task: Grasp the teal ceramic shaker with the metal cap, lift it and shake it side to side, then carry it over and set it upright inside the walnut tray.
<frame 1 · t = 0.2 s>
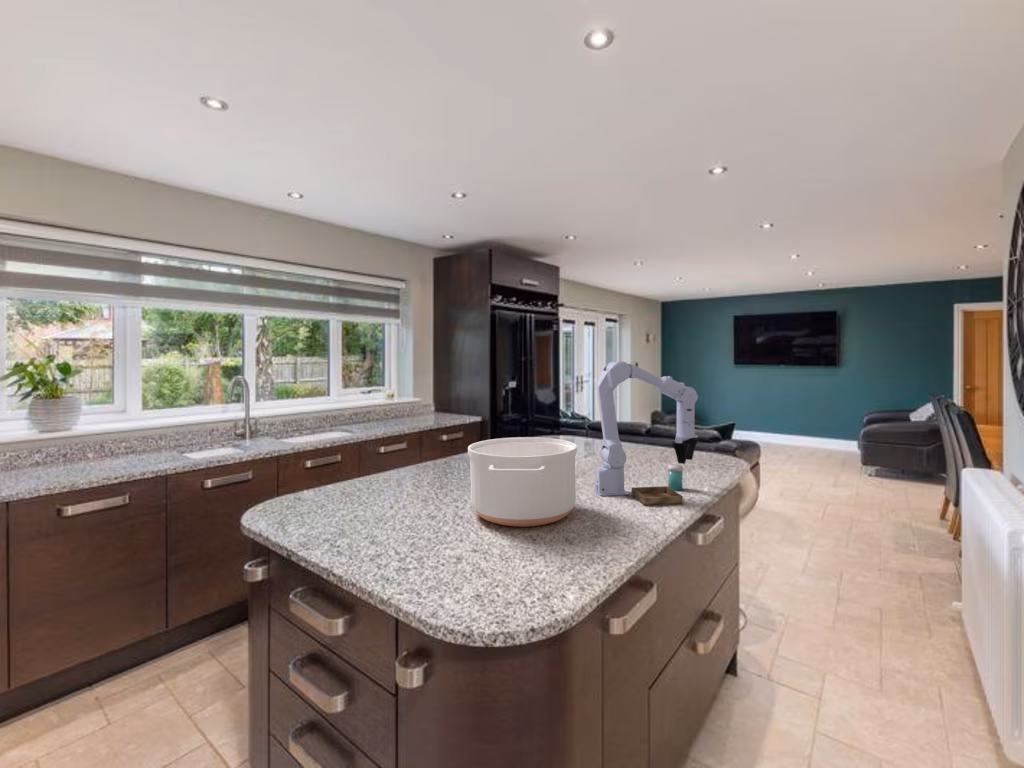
hand: (685, 461, 166), 10 cm above the countertop, tool pointing down, fingers open, 7 cm apart
shaker: (675, 489, 167), on the countertop
pot: (523, 514, 144), on the countertop
tray: (656, 499, 155), on the countertop
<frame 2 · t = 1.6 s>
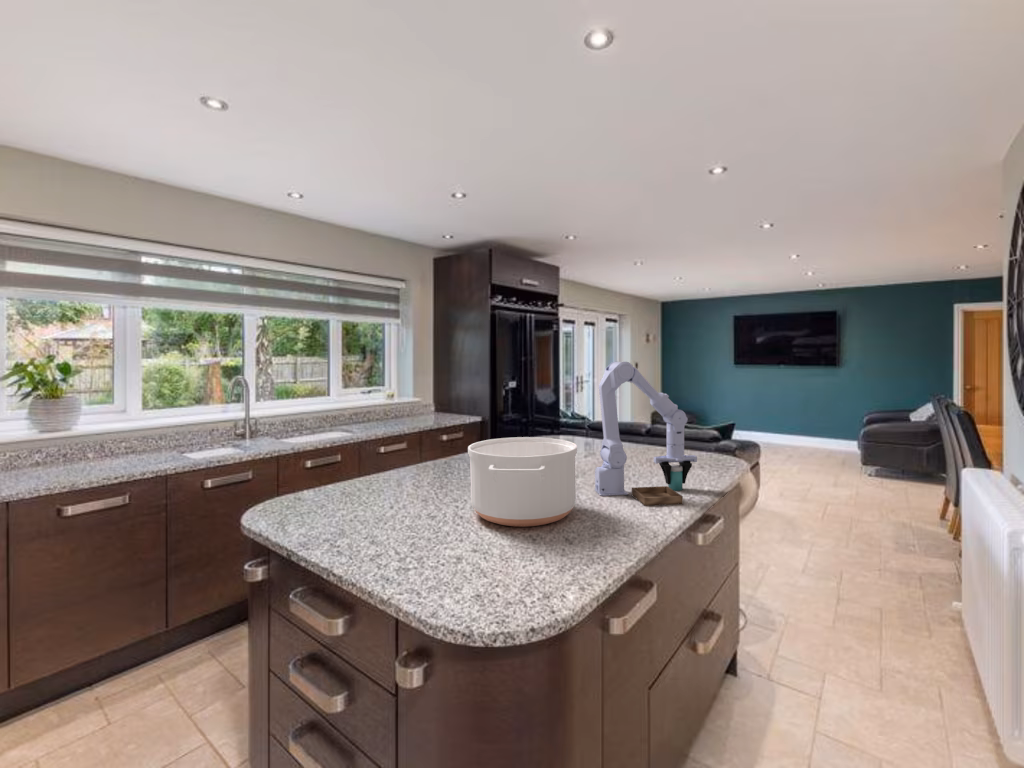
hand: (675, 483, 167), 2 cm above the countertop, tool pointing down, fingers closed on shaker, 5 cm apart
shaker: (675, 489, 167), on the countertop, touching gripper
everything else where it was.
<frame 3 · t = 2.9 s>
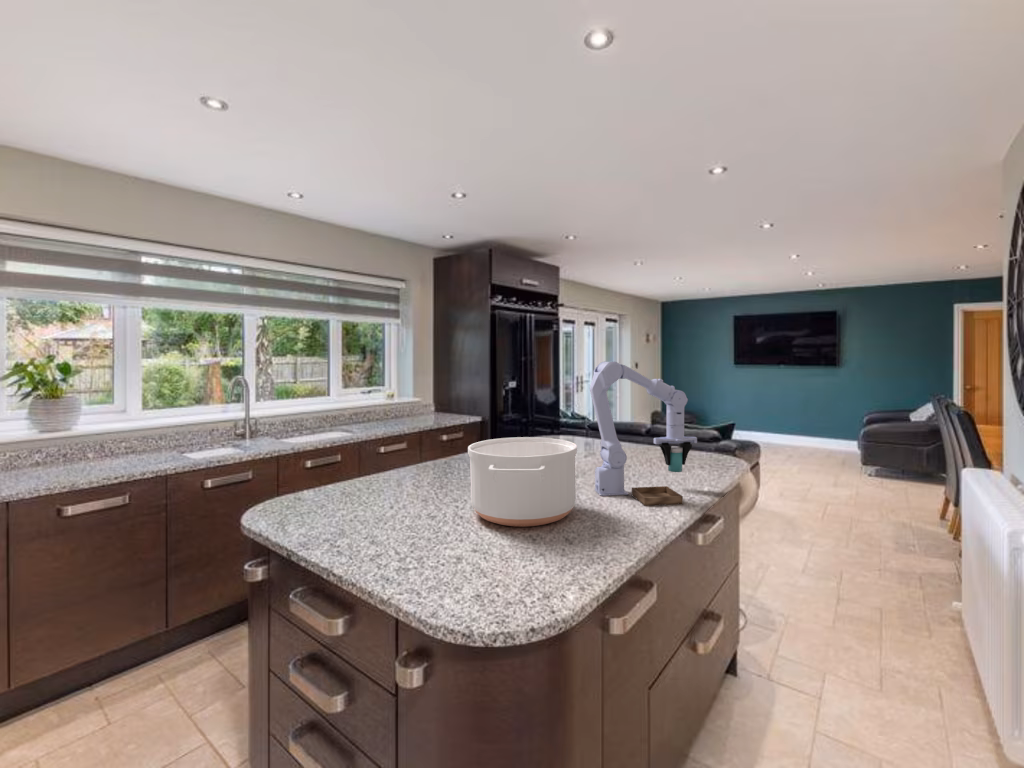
hand: (675, 464, 167), 9 cm above the countertop, tool pointing down, fingers closed on shaker, 5 cm apart
shaker: (675, 470, 167), point 6 cm above the countertop, touching gripper
everything else where it was.
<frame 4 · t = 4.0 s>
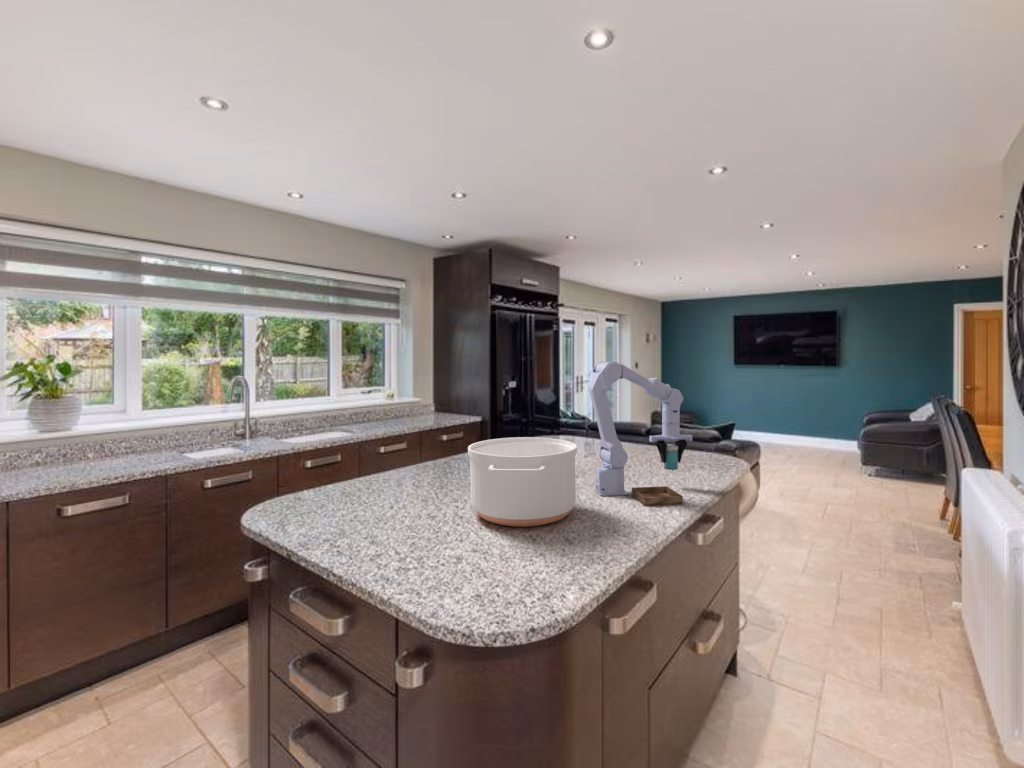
hand: (670, 462, 169), 9 cm above the countertop, tool pointing down, fingers closed on shaker, 5 cm apart
shaker: (671, 468, 169), point 7 cm above the countertop, touching gripper
everything else where it was.
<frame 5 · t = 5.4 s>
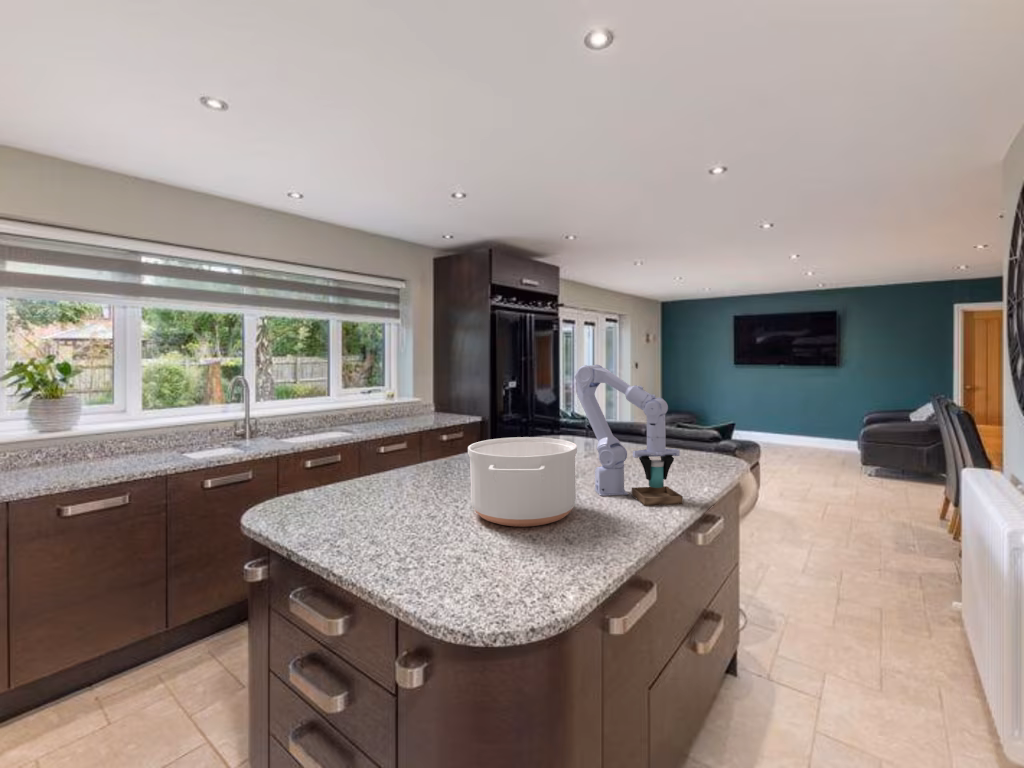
hand: (656, 479, 155), 7 cm above the countertop, tool pointing down, fingers closed on shaker, 5 cm apart
shaker: (656, 485, 155), point 4 cm above the countertop, touching gripper
everything else where it was.
when the fingers open (4 cm above the countertop, at t = 6.3 s): shaker drops 1 cm, resting on tray.
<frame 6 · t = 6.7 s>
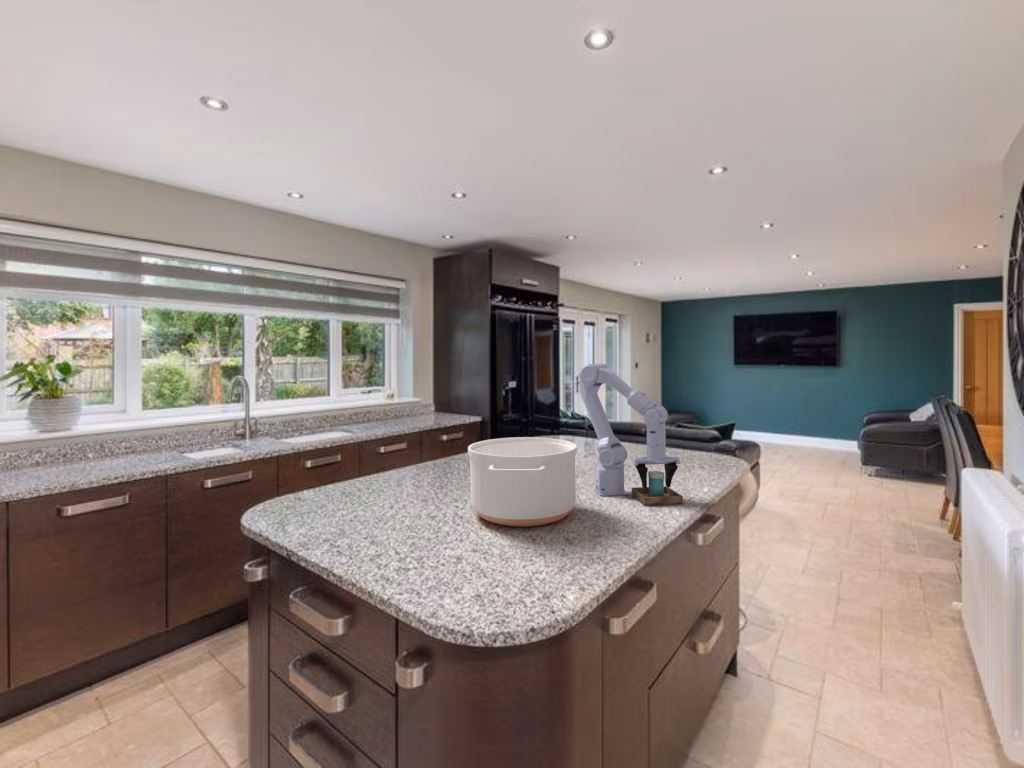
hand: (656, 486, 155), 4 cm above the countertop, tool pointing down, fingers open, 7 cm apart
shaker: (656, 497, 155), point 1 cm above the countertop, touching tray
everything else where it was.
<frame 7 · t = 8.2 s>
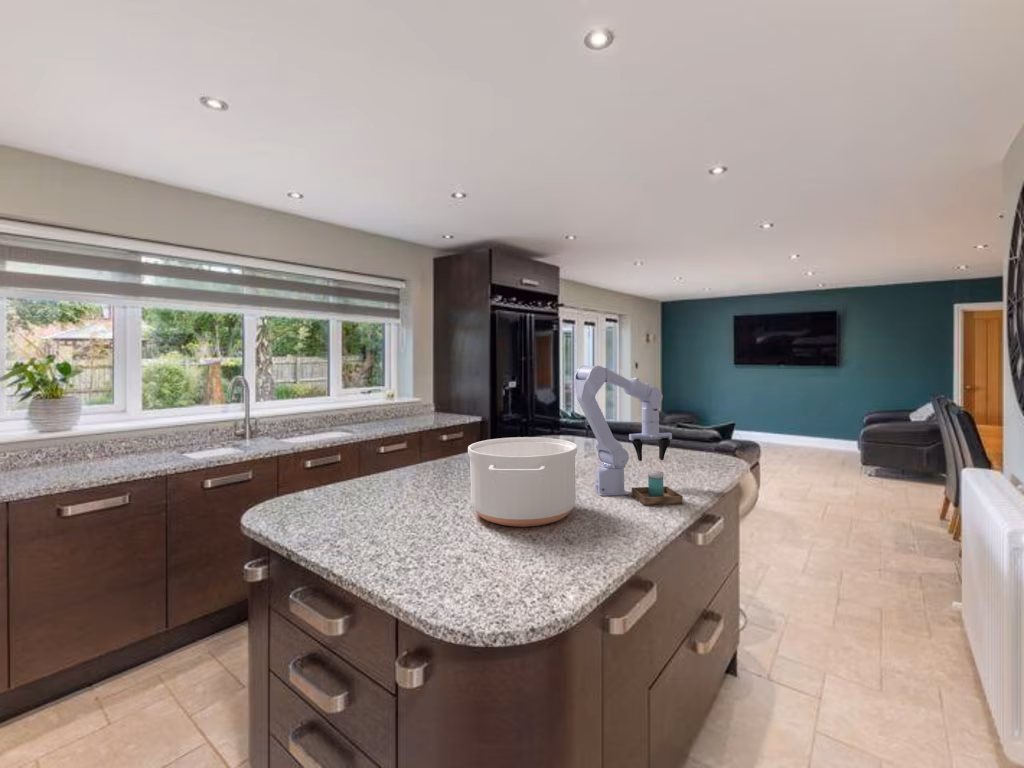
hand: (650, 460, 170), 9 cm above the countertop, tool pointing down, fingers open, 7 cm apart
nothing on the countertop moved.
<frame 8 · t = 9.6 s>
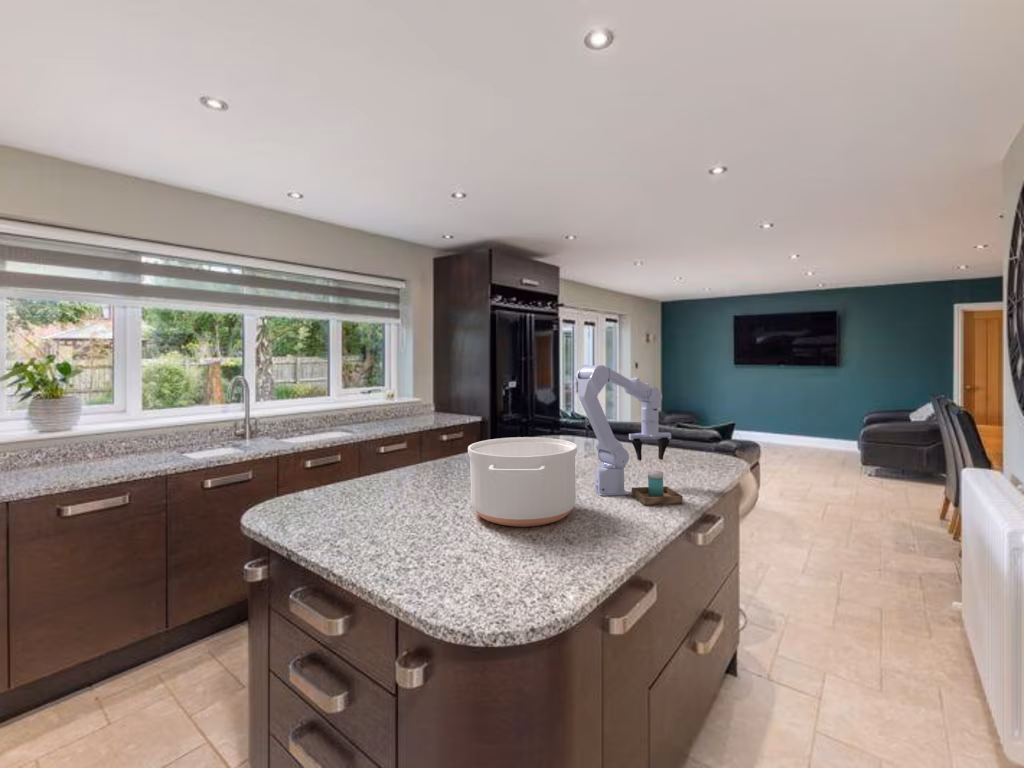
hand: (650, 459, 171), 9 cm above the countertop, tool pointing down, fingers open, 7 cm apart
nothing on the countertop moved.
at the end: shaker inside the target area on the tray (0.2 cm from its centre), point 0.7 cm above the tray's base; shaker tilted 2°; the gripper is holding nothing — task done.
